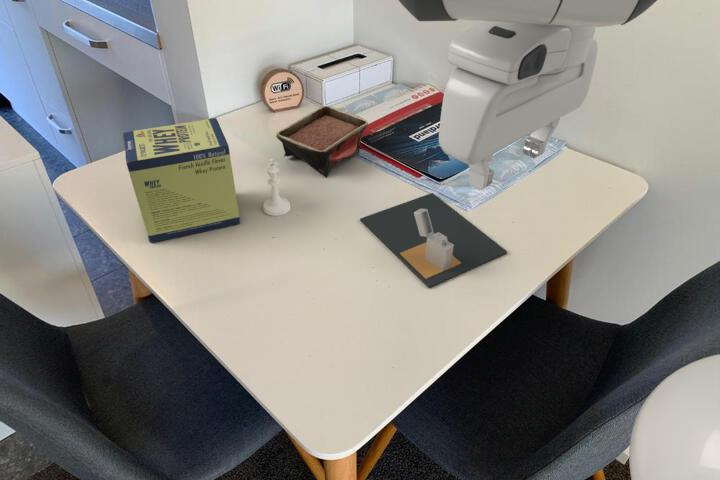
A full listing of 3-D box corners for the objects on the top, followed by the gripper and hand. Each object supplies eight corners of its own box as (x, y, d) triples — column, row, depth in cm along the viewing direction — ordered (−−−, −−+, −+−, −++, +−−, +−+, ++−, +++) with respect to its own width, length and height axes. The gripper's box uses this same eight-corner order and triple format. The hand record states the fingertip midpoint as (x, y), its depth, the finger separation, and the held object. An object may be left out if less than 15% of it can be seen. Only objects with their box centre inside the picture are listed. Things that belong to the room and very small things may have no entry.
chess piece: (261, 202, 96) (255, 154, 90) (288, 198, 97) (284, 151, 91) (264, 217, 93) (258, 168, 86) (292, 213, 93) (288, 165, 87)
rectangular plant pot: (373, 162, 112) (376, 116, 107) (317, 186, 99) (317, 135, 94) (323, 146, 119) (324, 102, 114) (265, 166, 107) (263, 118, 102)
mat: (506, 253, 86) (507, 250, 85) (428, 288, 79) (429, 285, 78) (432, 194, 99) (432, 191, 98) (360, 220, 92) (360, 217, 92)
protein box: (242, 223, 91) (229, 144, 81) (149, 244, 86) (123, 162, 76) (230, 192, 99) (217, 116, 89) (143, 210, 94) (119, 131, 84)
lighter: (451, 266, 82) (457, 225, 77) (444, 271, 81) (450, 230, 76) (417, 244, 86) (421, 205, 81) (410, 249, 85) (413, 209, 80)
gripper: (568, 4, 53) (536, 128, 62) (435, 47, 42) (419, 191, 51) (628, 19, 49) (585, 148, 58) (500, 70, 38) (471, 220, 47)
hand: (507, 169), depth 54 cm, fingers open, 8 cm apart
